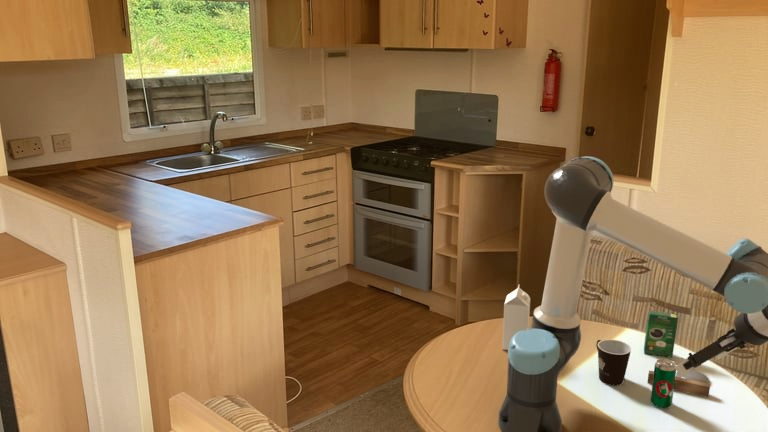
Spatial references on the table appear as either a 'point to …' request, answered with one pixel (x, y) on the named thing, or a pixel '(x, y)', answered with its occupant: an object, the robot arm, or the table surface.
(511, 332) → the milk carton
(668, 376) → the soda can
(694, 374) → the grey domed button
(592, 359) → the table surface
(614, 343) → the coffee mug
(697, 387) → the rail
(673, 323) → the coffee box
